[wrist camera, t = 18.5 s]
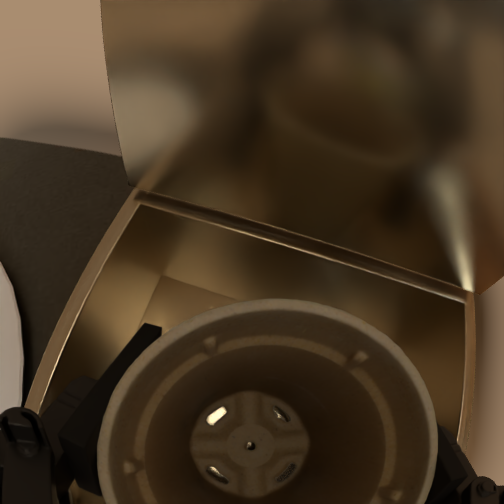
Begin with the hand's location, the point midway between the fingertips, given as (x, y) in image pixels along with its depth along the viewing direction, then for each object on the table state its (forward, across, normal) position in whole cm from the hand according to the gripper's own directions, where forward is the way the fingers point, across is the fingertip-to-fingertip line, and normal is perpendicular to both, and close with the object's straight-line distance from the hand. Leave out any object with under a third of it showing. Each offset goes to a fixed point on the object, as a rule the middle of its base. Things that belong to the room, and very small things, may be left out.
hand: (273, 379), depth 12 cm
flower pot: (+1, 0, -5) cm, 5 cm away
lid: (-4, +1, +12) cm, 13 cm away
